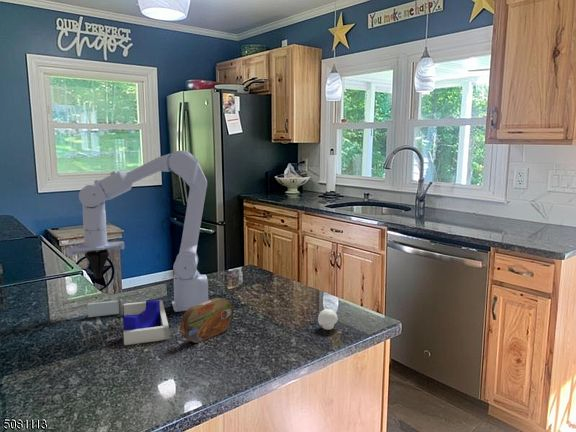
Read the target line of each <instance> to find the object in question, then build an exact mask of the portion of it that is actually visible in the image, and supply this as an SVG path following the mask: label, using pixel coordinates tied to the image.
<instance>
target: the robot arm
mask: <svg viewBox="0 0 576 432" xmlns="http://www.w3.org/2000/svg"><path fill="white" fill-rule="evenodd" d="M158 172H167V173H168V172H173V173H174V174H176V175H178V176H179V177H181V178H182V180H184V182H185V183H186V185H188V186H189V192H188V197H187V202H186V203H187V204H186V210H185V216H184V217H185V218H184V221H183V222H184V223H183V230H182V234H181V235H182V237H181V243H180V247H179V253H178V254H177V255H176V258H175V261H174V263H173V267H172V268H173V272H174V273H173V297H174V298H173V301H171V305H172V307H173V308H172V309H173V311H174V312H175V313H177V312H186V311H187V310H188V309H189V308H191V307H193V306H195V305H198V304H201V303H203V302H206V301H209V282H208V277H207V274H201V273H200V271H198V269H197V268H198V263H199V256H198V252H197V250H198V242H199V236H200V231H201V225H202V218H203V212H204V205H205V199H206V193H207V188H208V180H207V178H206V176H205V173H204V171H203V168H202V167H201V165H200V163H199V161H198V159H197V158H196V157H195V156H194V155H193V154H192V153H191V152H189V151H188V150H176V151H174V152H172V153H168V154H165V155H162V156H158V157H155V158H154V159H151V160H150V161H148V162H146V163H144V164H142V165H140V166H139V167H138V166H137V168H134V169H132V170H130V171H128V172H125V171H123V170H119V171H116V170H113V171H111V172H110V175H107V176H105V177H103V178H102V179H100V180H99V179H95V180H94V181H93V182H94V184H87V185H85V186H83V188H81V189H80V191H79V193H78V200H79V202H80V203H81V204H82V225H83V226H82V227H83V229H82V230H83V239H84V240H83V242H84V244H81V245H76V246H71V247H66V248H65V253H66V256H68V257H72V256H76V255H77V256H78V255H84V256H85V258H86V260H87V261H88V263H89V265H90V267H91V269H92V272H93V277H94V278H95V280H99V279H102V277H103V272H104V267H105V265H106V262H107V260H108V257H110V251H115V250H125V242H124V241H122V240H121V241H108V230H107V213H106V212H107V211H106V203H105V202H106V201H110V200H112V199H114V198H117V197H118V196H121V195H122V194H125V193H127V192H129V191H131V189H132V187H133V185H134V184H135V183H136V182H138V181H141V180H143V179H145V178H147V177H150V176H151V175H154V174H156V173H158Z"/></svg>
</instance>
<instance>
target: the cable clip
mask: <svg viewBox="0 0 576 432" xmlns="http://www.w3.org/2000/svg"><path fill="white" fill-rule="evenodd" d="M122 318H123V319H122V320H123V332H124V331H126V330H134V329H142V328H150V327H157V326H159V324H161V323H160V301H156V300H154V299H148V300H147V302H146V309H145V311H143V312H141V313H140V314H137V315H125V316H124V315H123V317H122Z"/></svg>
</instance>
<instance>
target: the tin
mask: <svg viewBox="0 0 576 432" xmlns="http://www.w3.org/2000/svg"><path fill="white" fill-rule="evenodd" d="M233 318H234V307H233V304H232V302H231V301H230V300H229V299H227V298H221V297H214V298H212V299H208V301H206V302H203V303H201V304H198V305H195V306H193V307H191V308H189V309H188V310H186V311H184V313H183V315H182V318H181V321H180V331H181V335H182V337H184V338H185V339H186V340H187V341H190V342H192V343H194V344H195V343H196V344H199V343H200V344H201V343H202V342H205V341H206V340H208V339H211V338H213V337H215V336H217V335H220V334H221V333H224V332H226V331H227V330H228V329H229V327H230V326H231V324H232V322H233Z"/></svg>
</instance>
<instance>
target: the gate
mask: <svg viewBox="0 0 576 432" xmlns="http://www.w3.org/2000/svg"><path fill="white" fill-rule="evenodd" d="M86 305H87V317H88V318H94V317H95V318H96V317H102V316H111V315H124V309H123V298H119V299H118V300H110V301H100V302H91V303H87V304H86Z"/></svg>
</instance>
